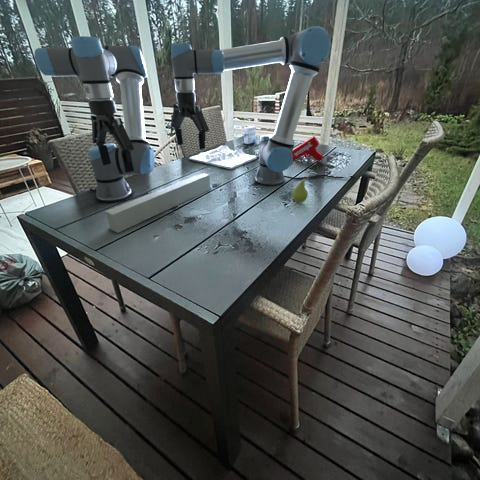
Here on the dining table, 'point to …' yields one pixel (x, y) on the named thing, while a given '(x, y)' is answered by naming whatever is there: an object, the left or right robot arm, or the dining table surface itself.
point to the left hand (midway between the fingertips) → (118, 167)
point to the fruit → (300, 192)
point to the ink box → (249, 134)
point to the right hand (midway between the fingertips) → (191, 146)
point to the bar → (156, 202)
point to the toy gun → (308, 150)
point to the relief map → (224, 157)
